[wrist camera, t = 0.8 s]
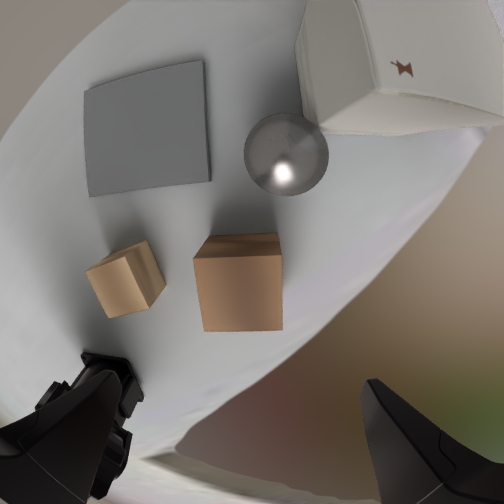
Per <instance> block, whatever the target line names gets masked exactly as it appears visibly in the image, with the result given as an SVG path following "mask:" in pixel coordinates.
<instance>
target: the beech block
mask: <svg viewBox="0 0 504 504" xmlns="http://www.w3.org/2000/svg"><path fill="white" fill-rule="evenodd" d="M85 273H86V275H87V277H88V279H89V281H90V283H91V285H92V287H93V289H94V291H95V293H96V295H97V297H98V299H99V301H100V303H101V305H102V307H103V309H104V311H105V313H106V314H107V316H108V318H113V317H117V316H121V315H125V314H129V313H134V312H138V311H142V310H146V309H149V308H150V307H151V306H152V304H153V303H154V301H155V300H156V299H157V297H158V296H159V295H160V293H161V292H162V290H163V289H164V288H165V286H166V283H165V281H164V279H163V276H162V274H161V272H160V270H159V267H158V265H157V263H156V260H155V258H154V256H153V253H152V251H151V249H150V246H149V244H148V241H147V240H146V241H143V242H141V243H138V244H135V245H133V246H130V247H128V248H125V249H122V250H120V251H117V252H115V253H112V254H110V255H108V256H107V257H105V258H104V259H102V260H101V261H100V262H98V263H97V264H95V265H94V266H92V267H91V268H90V269H88V270H87V271H86V272H85Z"/></svg>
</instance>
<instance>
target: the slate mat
mask: <svg viewBox="0 0 504 504" xmlns="http://www.w3.org/2000/svg"><path fill="white" fill-rule="evenodd" d="M84 145H85V161H86V173H87V183H88V192H89V197H95V196H101V195H107V194H113V193H119V192H126V191H133V190H140V189H148V188H156V187H164V186H173V185H182V184H192V183H203V182H210V181H211V174H210V160H209V145H208V128H207V109H206V87H205V63H204V62H203V60H199V61H193V62H187V63H181V64H176V65H171V66H166V67H162V68H158V69H153V70H149V71H145V72H142V73H138V74H134V75H131V76H127V77H124V78H121V79H117V80H114V81H111V82H108V83H105V84H102V85H100V86H97V87H94V88H91V89H89V90H86V91H84Z"/></svg>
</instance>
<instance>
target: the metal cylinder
mask: <svg viewBox="0 0 504 504" xmlns="http://www.w3.org/2000/svg"><path fill="white" fill-rule="evenodd" d="M244 160H245V164H246V168H247V170H248V172H249V174H250V176H251V177H252V179H253V180H254V181H255V182H256V183H257V184H258V185H259V186H260V187H262V188H263V189H265V190H266V191H268V192H271V193H273V194H276V195H281V196H294V195H298V194H302V193H304V192H306V191H308V190H310V189H311V188H313V187H314V186H315V185H316V184H317V183H318V182H319V181H320V180H321V179H322V177H323V175H324V174H325V171H326V169H327V166H328V160H329V152H328V146H327V142H326V140H325V138H324V136H323V134H322V132H321V131H320V130H319V128H318V127H317V126H316V125H315V124H313V123H312V122H311V121H309V120H308V119H306V118H304V117H302V116H299V115H296V114H290V113H282V114H275V115H272V116H269V117H267V118H265V119H263V120H262V121H260V122H259V123H258V124H257V125H256V126H255V127H254V128H253V129H252V130H251V132H250V133H249V135H248V137H247V140H246V143H245V148H244Z"/></svg>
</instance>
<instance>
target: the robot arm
mask: <svg viewBox="0 0 504 504" xmlns="http://www.w3.org/2000/svg"><path fill="white" fill-rule="evenodd" d="M81 359H82V361H83V363H84V365H85V367H84V368H83V370H82V371H81V372H80V374H79V375H78V377H77V378H76V379H75V381H74V382H73V383H72V385H71V386H69V385H68V383H67V382H66V381H65V380H64V381H63V383H62V384H61V383H58V382H56V381H54V382H53V384H52V385H51V386H50V388H49V389H48V390H47V391H46V393H45V394H44V395H43V397H42V398H41V399H40V401H39V402H38V403H37V405H36V406H35V412H33V413H31V414H30V415H28V416H26V417H24V418H22V419H20V420H18V421H16V422H14V423H11V424H9V425H7V426H4V427H2V428H0V504H86V503H87V500H89V499H91V498H94V499H96V500H100V499H101V498H103V497H105V496H106V495H107V493H108V490H109V488H110V486H111V483H112V481H113V480H115V479H117V478H118V477H119V476H120V475H121V474H122V472H123V471H124V469H125V467H126V464H127V461H128V456H129V450H130V445H131V440H132V435H133V434H132V433H131V432H129V431H126V430H125V429H123V428H122V426H123V424H124V422H125V420H126V418H128V419H129V418H130V417H131V415H132V413H133V411H134V408H135V406H136V404H137V402H143V400H144V397H143V395H142V392H141V390H140V388H139V385H138V383H137V381H136V378H135V376H134V374H133V371H132V369H131V367H130V364H129V362H128V361H127V360H126V359H123V358H116V357H109V356H102V355H96V354H90V353H85V352H83V353H82V354H81ZM124 363H125V364H124ZM360 402H361V409H362V416H363V423H364V430H365V435H366V440H367V443H368V447H369V451H370V455H371V459H372V463H373V467H374V471H375V476H376V480H377V484H378V489H379V492H380V498H381V502H382V504H504V464H502V463H495V462H492V461H490V460H488V459H486V458H484V457H483V456H481V455H479V454H477V453H476V452H474V451H472V450H470V449H469V448H467V447H466V446H464V445H462V444H461V443H459V442H458V441H456V440H455V439H453V438H452V437H451V436H449V435H448V434H447V433H446V432H444V431H443V430H441V429H440V428H439V427H437V426H436V425H435V424H434V423H432V422H431V421H430V420H429V419H428V418H426V417H425V416H424V415H423V414H421V413H420V412H419V411H418V410H416V409H415V408H414V407H413V406H411V405H410V404H409V403H408V402H406V401H405V400H404V399H403V398H401V397H400V396H399V395H398V394H396V393H395V392H394V391H393V390H391V389H390V388H389V387H388V386H387V385H385V384H384V383H383V382H382V381H380V380H379V379H378V378H371V379H367V380H365V382H364V385H363V388H362V391H361V394H360Z"/></svg>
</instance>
